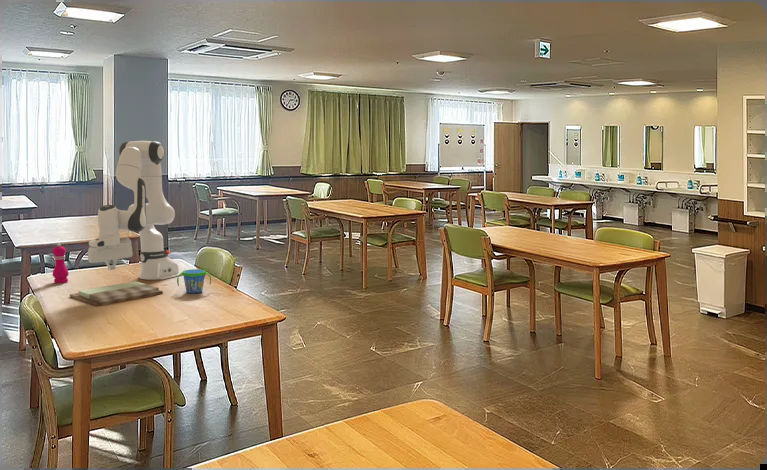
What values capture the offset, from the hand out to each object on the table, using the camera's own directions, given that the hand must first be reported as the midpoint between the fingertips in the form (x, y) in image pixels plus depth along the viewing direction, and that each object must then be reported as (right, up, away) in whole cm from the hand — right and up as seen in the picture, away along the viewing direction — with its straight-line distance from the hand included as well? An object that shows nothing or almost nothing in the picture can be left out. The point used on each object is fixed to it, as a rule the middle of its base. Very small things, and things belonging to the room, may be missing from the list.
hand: (111, 269), depth 305 cm
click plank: (+1, -10, 0) cm, 10 cm away
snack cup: (+37, -11, +6) cm, 39 cm away
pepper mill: (-35, -8, +24) cm, 44 cm away
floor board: (+3, -12, -2) cm, 12 cm away
